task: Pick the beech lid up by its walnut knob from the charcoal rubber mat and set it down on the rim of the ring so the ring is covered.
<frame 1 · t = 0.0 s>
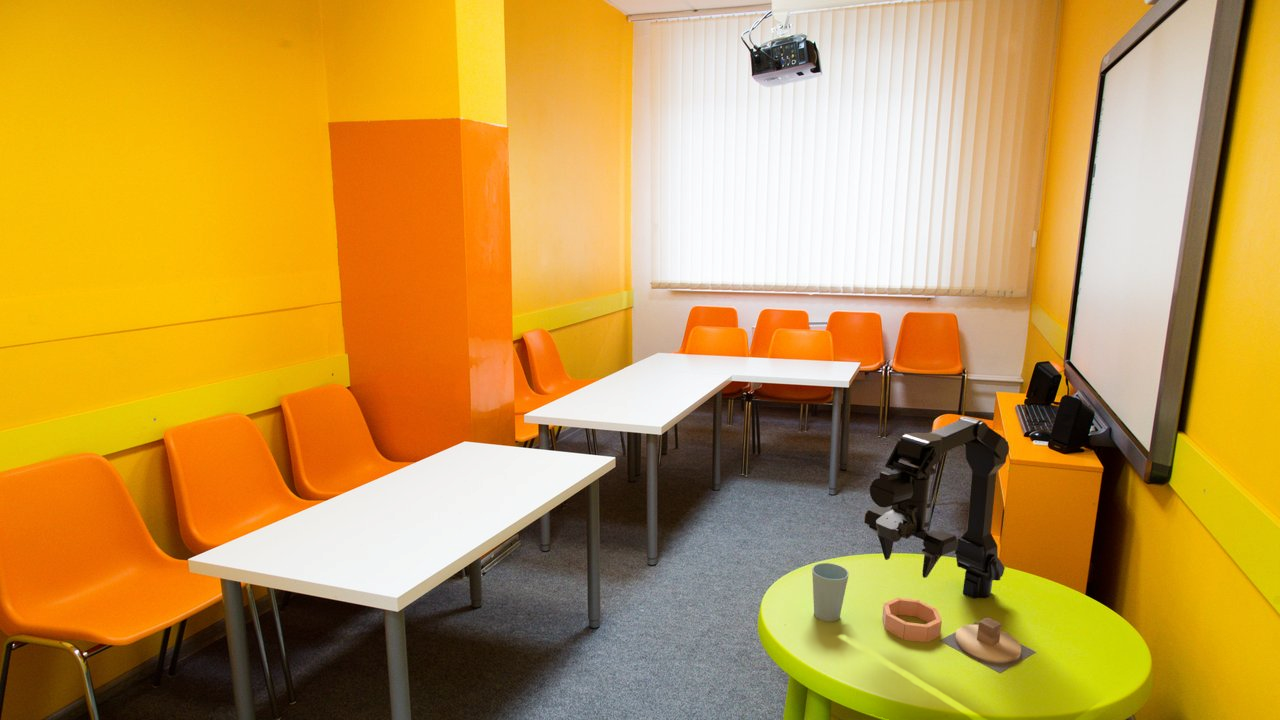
hand: (905, 568, 154), 15 cm above the table, tool pointing down, fingers open, 9 cm apart
cup: (826, 615, 163), on the table
lid: (987, 646, 150), point 1 cm above the table, touching mat
ring: (910, 631, 157), on the table
mat: (986, 651, 150), on the table
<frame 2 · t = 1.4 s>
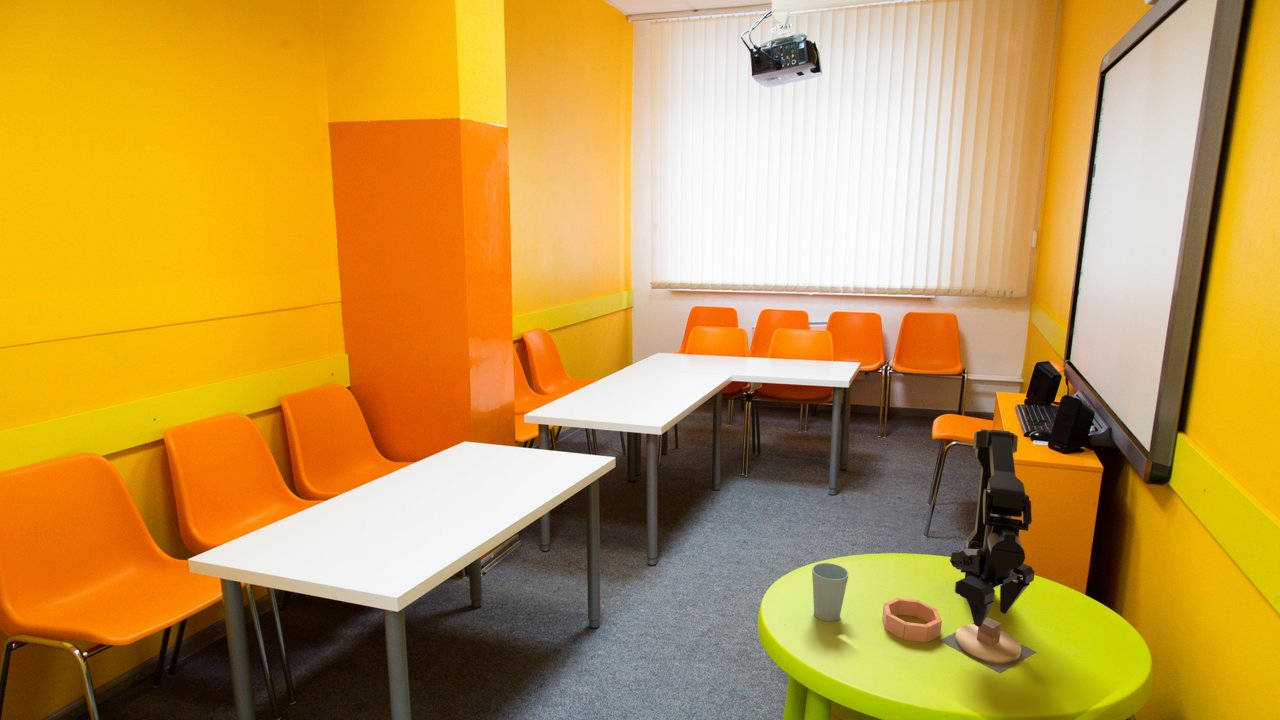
hand: (990, 619, 149), 7 cm above the table, tool pointing down, fingers open, 9 cm apart
nothing on the table moved.
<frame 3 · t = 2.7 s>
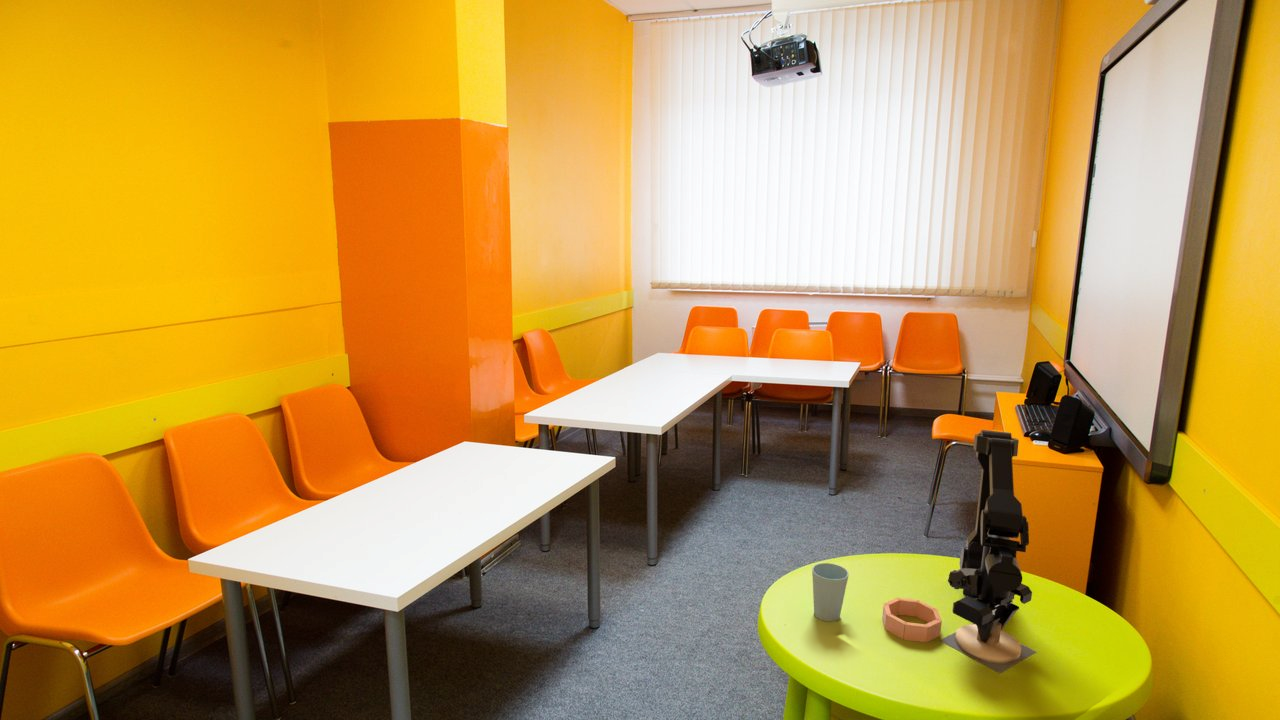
hand: (988, 639, 150), 3 cm above the table, tool pointing down, fingers closed on lid, 3 cm apart
lid: (987, 645, 150), point 1 cm above the table, touching gripper, mat
everything else where it was.
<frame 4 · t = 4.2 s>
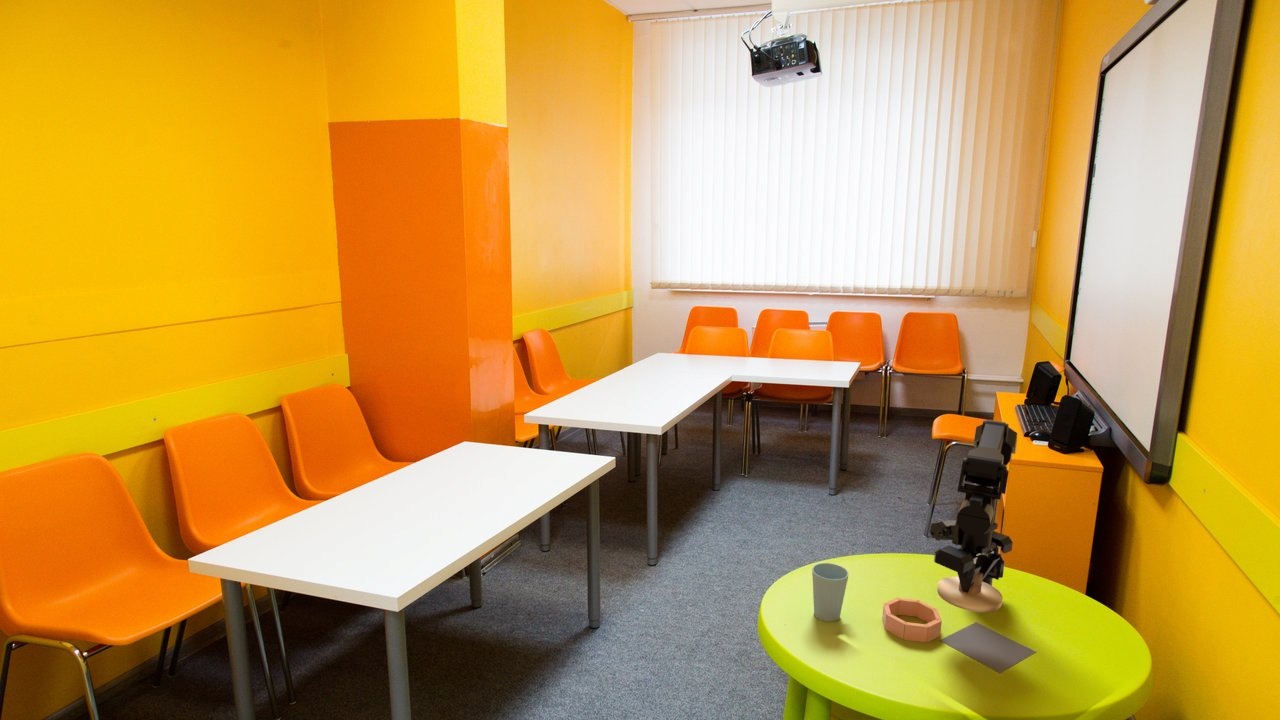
hand: (969, 589, 150), 12 cm above the table, tool pointing down, fingers closed on lid, 3 cm apart
lid: (969, 596, 150), point 11 cm above the table, touching gripper
everything else where it was.
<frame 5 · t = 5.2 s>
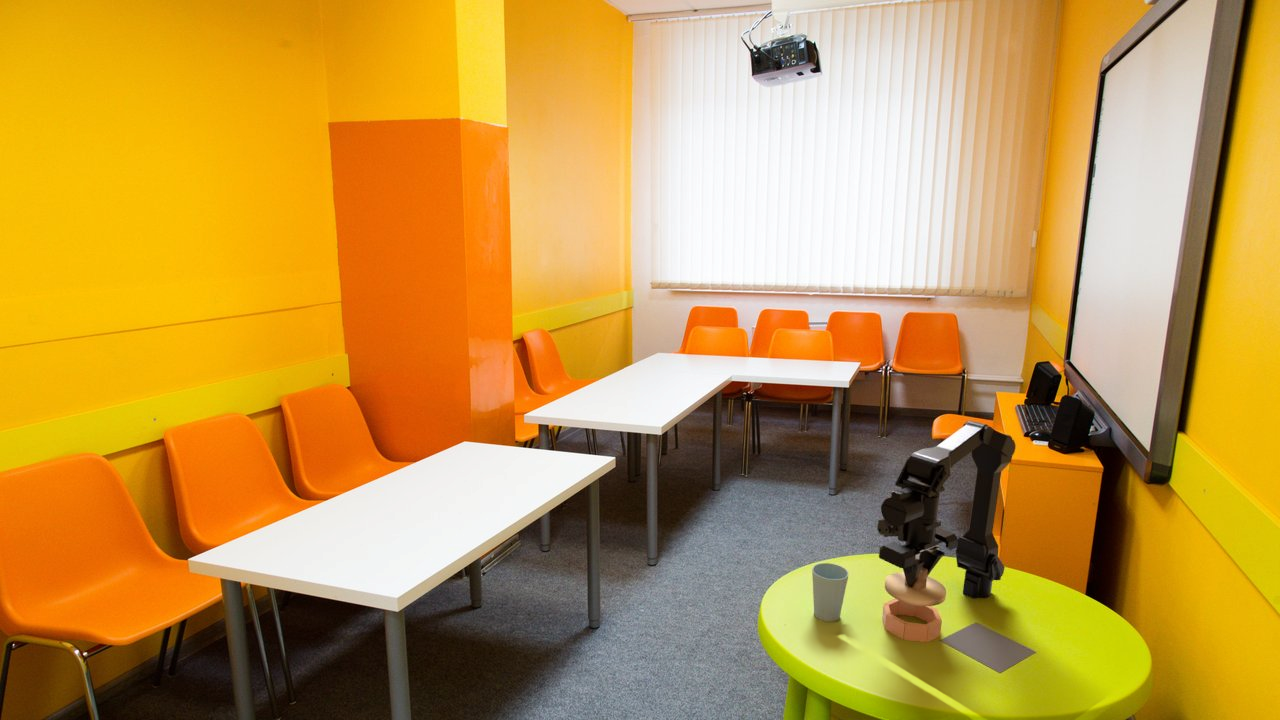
hand: (915, 584, 155), 11 cm above the table, tool pointing down, fingers closed on lid, 3 cm apart
lid: (914, 591, 155), point 9 cm above the table, touching gripper
everything else where it was.
when the fingers open (7 cm above the table, at t = 6.0 s): lid drops 1 cm, resting on ring.
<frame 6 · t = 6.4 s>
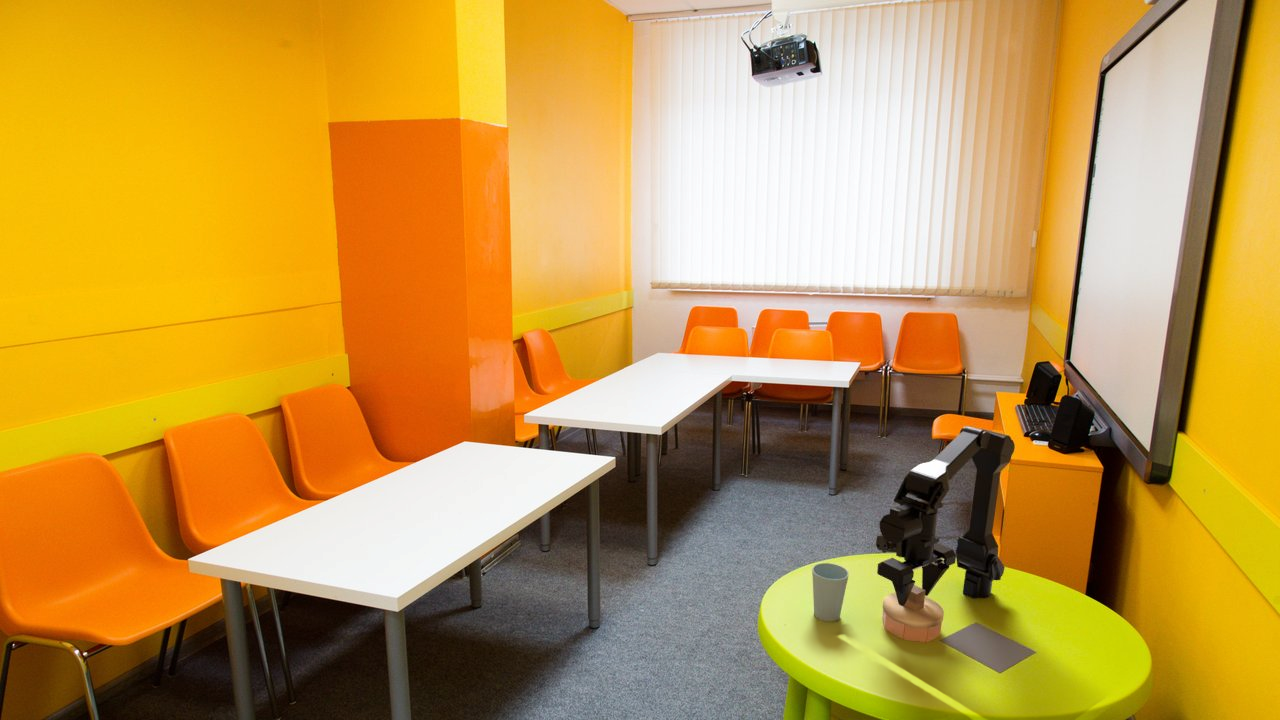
hand: (913, 600, 156), 7 cm above the table, tool pointing down, fingers open, 8 cm apart
lid: (912, 611, 156), point 4 cm above the table, touching ring
everything else where it was.
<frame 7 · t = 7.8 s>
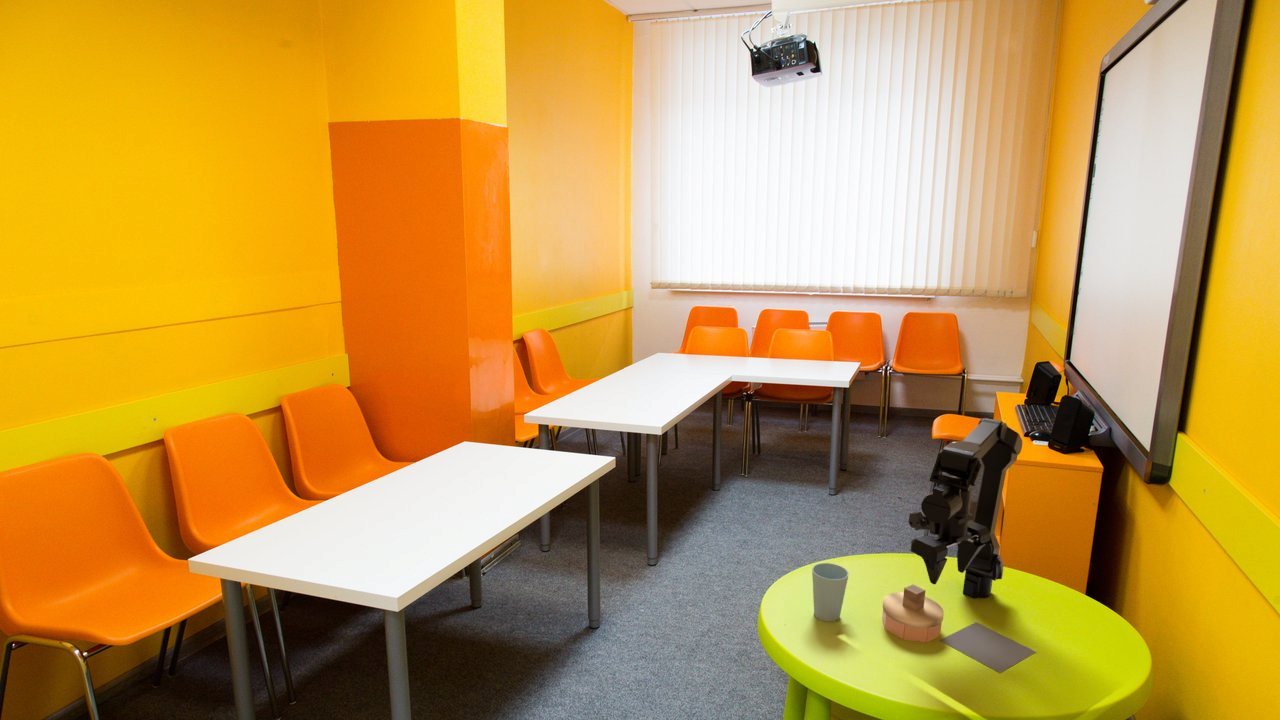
hand: (947, 577, 155), 12 cm above the table, tool pointing down, fingers open, 9 cm apart
nothing on the table moved.
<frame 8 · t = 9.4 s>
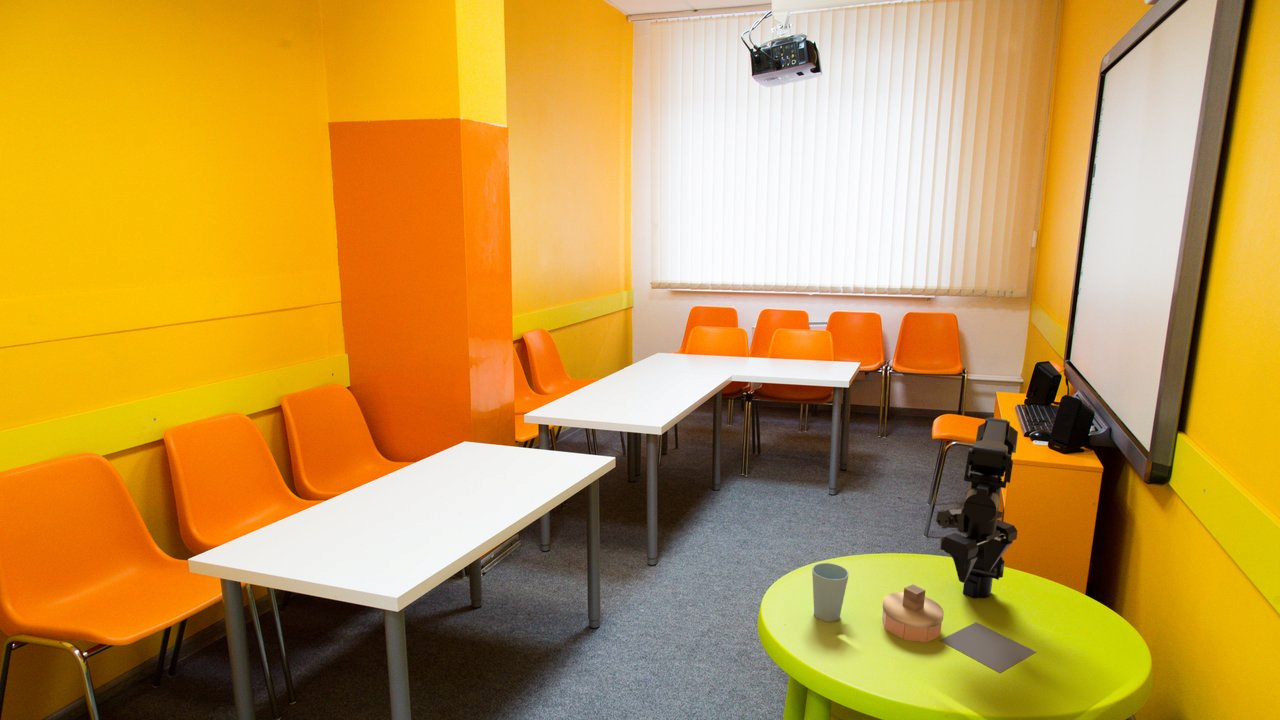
hand: (974, 576, 154), 13 cm above the table, tool pointing down, fingers open, 9 cm apart
nothing on the table moved.
at the end: lid 0.1 cm off-centre on the ring, point 4.5 cm above the ring's base; lid tilted 0°; the gripper is holding nothing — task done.
